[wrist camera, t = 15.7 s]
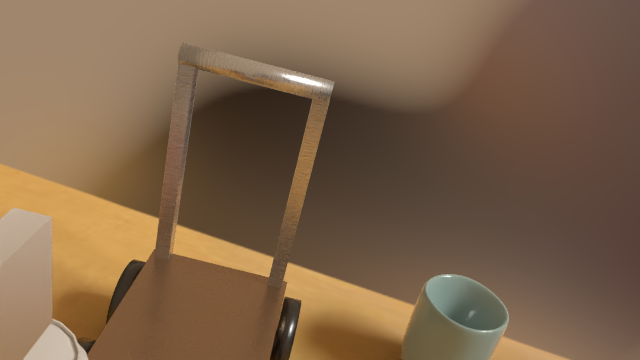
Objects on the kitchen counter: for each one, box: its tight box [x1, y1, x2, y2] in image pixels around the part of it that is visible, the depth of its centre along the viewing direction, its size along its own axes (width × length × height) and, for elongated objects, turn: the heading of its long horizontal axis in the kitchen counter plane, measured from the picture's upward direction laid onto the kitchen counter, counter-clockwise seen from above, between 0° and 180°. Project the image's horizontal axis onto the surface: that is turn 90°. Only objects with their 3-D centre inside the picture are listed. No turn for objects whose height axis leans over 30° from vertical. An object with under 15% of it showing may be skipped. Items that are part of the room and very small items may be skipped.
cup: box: [401, 274, 509, 360], centre depth 51 cm, size 8×8×10 cm
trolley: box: [77, 43, 334, 360], centre depth 40 cm, size 15×17×27 cm
